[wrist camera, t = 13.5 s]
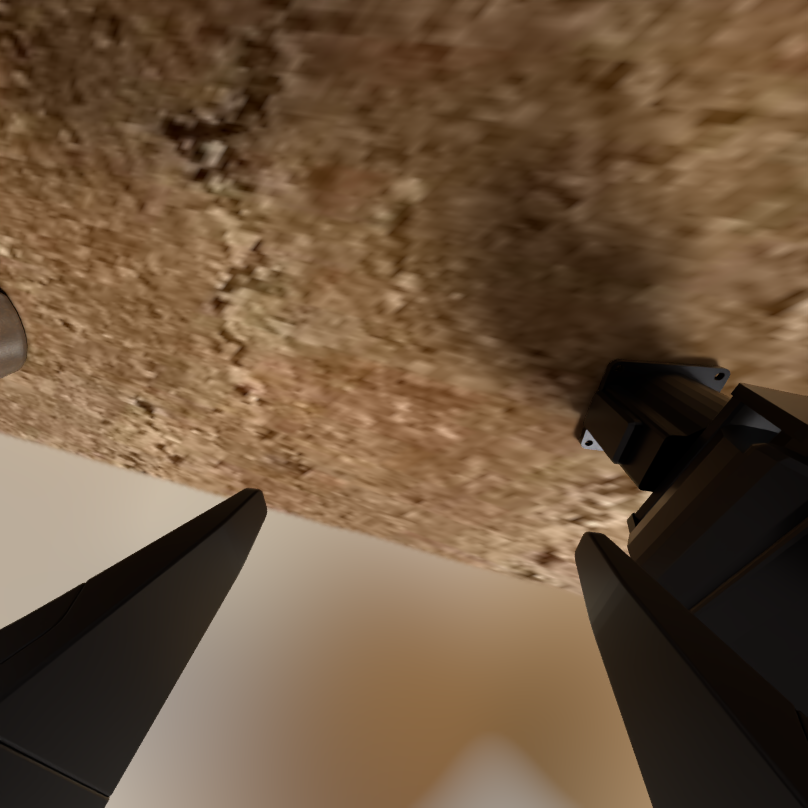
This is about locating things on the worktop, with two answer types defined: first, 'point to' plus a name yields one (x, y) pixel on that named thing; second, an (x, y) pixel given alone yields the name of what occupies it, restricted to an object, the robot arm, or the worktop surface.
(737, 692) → the robot arm
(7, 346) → the plant pot
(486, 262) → the worktop surface
